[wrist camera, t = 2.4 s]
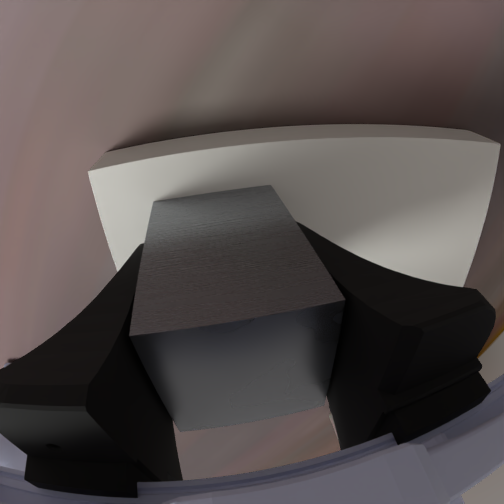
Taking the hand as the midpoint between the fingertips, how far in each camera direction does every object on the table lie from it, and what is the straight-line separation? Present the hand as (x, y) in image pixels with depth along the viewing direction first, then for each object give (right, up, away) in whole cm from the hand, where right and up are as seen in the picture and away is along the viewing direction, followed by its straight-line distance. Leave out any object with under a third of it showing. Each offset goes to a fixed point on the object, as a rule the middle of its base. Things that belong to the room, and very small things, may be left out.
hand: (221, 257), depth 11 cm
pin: (0, 0, +1) cm, 1 cm away
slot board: (+4, -1, +6) cm, 7 cm away
